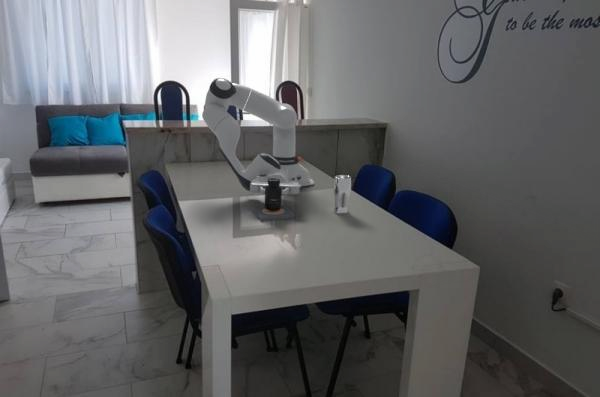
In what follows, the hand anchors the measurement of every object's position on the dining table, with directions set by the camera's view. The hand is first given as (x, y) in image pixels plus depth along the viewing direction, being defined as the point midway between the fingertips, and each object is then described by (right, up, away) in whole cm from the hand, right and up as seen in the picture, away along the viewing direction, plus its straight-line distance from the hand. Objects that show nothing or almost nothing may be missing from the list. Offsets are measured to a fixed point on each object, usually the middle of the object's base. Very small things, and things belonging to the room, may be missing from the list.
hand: (273, 192), depth 186 cm
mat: (0, -9, +3) cm, 9 cm away
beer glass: (+28, -8, +9) cm, 30 cm away
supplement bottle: (0, -6, +3) cm, 7 cm away
